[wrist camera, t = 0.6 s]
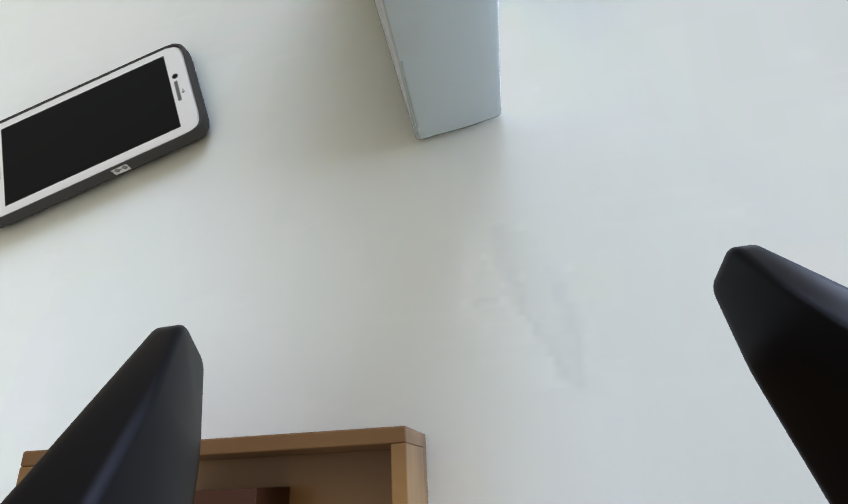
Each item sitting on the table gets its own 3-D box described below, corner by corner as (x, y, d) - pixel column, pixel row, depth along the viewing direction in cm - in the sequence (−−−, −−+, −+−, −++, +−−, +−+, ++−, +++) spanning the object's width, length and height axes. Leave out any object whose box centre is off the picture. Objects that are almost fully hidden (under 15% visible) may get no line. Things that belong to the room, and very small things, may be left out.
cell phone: (-12, 140, 36) (-26, 131, 35) (190, 48, 36) (182, 37, 35) (-8, 236, 32) (-24, 229, 31) (215, 135, 32) (206, 125, 31)
